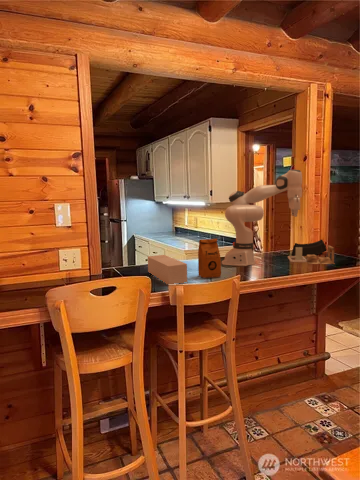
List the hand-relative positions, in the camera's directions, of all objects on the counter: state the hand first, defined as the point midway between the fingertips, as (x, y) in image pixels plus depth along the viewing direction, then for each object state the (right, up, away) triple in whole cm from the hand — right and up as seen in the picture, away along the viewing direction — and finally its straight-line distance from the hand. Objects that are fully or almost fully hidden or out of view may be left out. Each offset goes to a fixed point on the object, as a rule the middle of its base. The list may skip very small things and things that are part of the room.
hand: (294, 216), depth 214 cm
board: (+5, -30, +7) cm, 31 cm away
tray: (+4, -30, +8) cm, 31 cm away
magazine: (+21, -27, +27) cm, 44 cm away
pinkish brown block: (-82, -38, -26) cm, 94 cm away
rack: (+16, -31, -1) cm, 35 cm away
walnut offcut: (+11, -30, 0) cm, 32 cm away
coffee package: (-58, -37, -26) cm, 73 cm away
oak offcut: (+11, -27, 0) cm, 29 cm away
